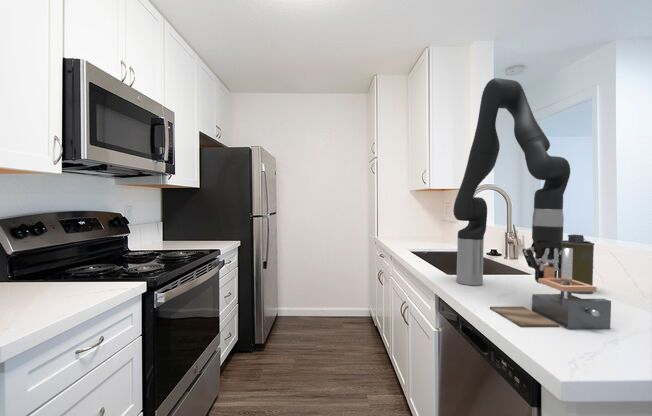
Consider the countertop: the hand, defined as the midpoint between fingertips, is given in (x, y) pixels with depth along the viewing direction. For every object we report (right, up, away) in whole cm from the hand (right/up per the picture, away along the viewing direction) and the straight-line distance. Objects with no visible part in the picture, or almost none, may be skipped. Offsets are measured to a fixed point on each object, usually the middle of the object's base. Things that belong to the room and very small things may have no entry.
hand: (545, 282), depth 95 cm
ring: (0, +1, -5) cm, 5 cm away
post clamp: (0, -8, -10) cm, 12 cm away
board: (-11, -8, -7) cm, 15 cm away
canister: (+25, -8, +22) cm, 34 cm away
